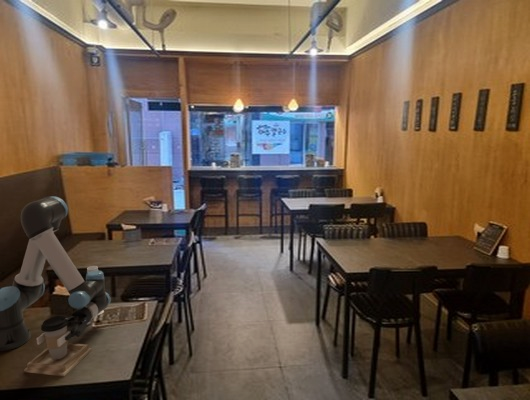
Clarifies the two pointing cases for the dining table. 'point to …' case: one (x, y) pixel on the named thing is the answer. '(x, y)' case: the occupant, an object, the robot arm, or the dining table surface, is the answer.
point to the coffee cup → (55, 335)
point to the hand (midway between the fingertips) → (47, 342)
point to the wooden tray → (58, 361)
